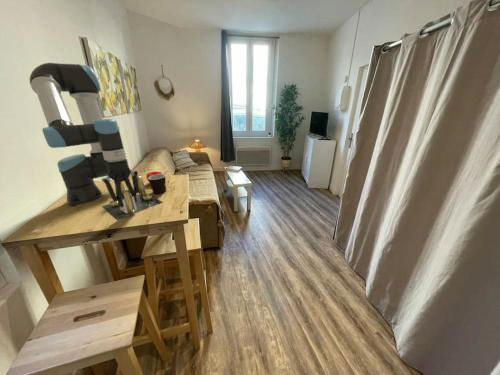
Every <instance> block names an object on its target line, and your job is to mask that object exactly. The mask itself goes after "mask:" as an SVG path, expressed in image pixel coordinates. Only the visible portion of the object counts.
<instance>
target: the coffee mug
mask: <svg viewBox="0 0 500 375" xmlns="http://www.w3.org/2000/svg"><path fill="white" fill-rule="evenodd" d="M148 179H149V181H148V182H150V183H149V184H150V187H151V190H152V192H153V194H154V195H161V194H164V193H166V192H167V183H166V182H167V181H166V175H165V174H163V173H162V174H156V175H152V176H150V177H148Z"/></svg>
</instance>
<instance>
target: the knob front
mask: <svg viewBox="0 0 500 375" xmlns="http://www.w3.org/2000/svg"><path fill="white" fill-rule="evenodd" d="M121 194H122V199H124V201H125V204H126V207H127V211H128V213H127V215H128V216H127V217H129V216H133V215H135V214H136V213H135V210H134V207H133V203H132V199H131V196H130V195H131V194H130V192H129V190H128V189H125V190H124V191H121ZM120 211H121V212H124V211H123V208H122V207H120Z"/></svg>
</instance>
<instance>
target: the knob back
mask: <svg viewBox="0 0 500 375" xmlns="http://www.w3.org/2000/svg"><path fill="white" fill-rule="evenodd" d="M124 190H126V189H125V186H124V181H122V182H121V191H124ZM109 204H110V205H111V207H117V206H119V203H118V200H116V201H114V200H113V199H112V200H110V201H109Z"/></svg>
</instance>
